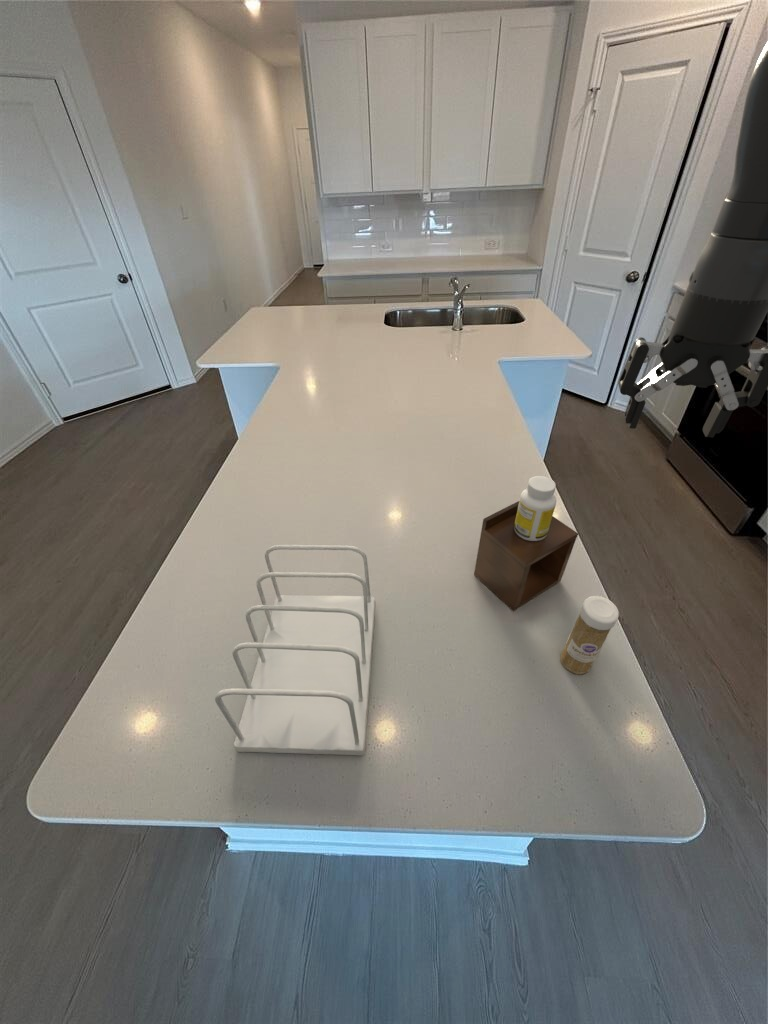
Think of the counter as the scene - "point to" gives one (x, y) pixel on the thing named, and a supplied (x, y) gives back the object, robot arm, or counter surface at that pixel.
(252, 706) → the file sorter
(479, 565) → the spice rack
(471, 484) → the counter surface
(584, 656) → the sprinkles bottle
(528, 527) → the supplement bottle
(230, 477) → the counter surface
